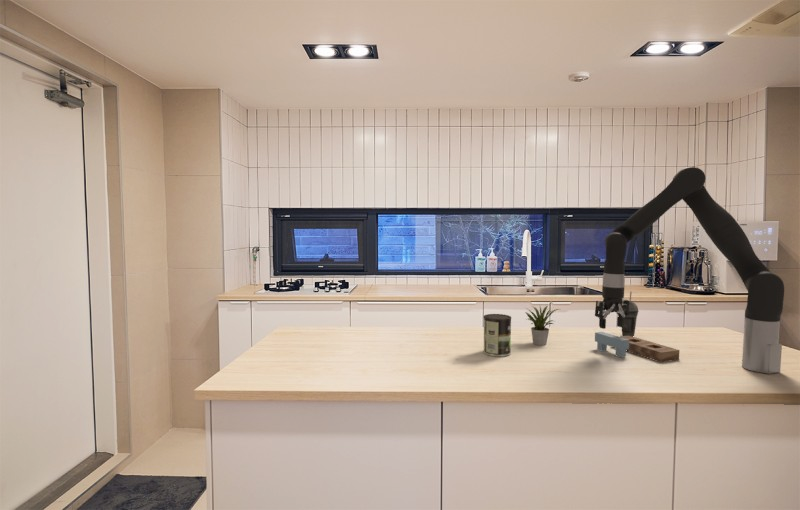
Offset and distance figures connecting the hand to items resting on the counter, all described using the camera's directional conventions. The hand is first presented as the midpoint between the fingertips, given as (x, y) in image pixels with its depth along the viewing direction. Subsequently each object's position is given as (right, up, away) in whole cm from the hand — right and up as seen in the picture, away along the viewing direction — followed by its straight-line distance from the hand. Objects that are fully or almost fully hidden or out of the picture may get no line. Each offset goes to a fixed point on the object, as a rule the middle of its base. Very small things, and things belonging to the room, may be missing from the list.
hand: (611, 327), depth 167 cm
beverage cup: (+19, -8, +24) cm, 32 cm away
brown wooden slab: (+13, -10, +1) cm, 16 cm away
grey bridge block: (0, -10, +1) cm, 10 cm away
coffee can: (-43, -10, +1) cm, 45 cm away
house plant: (-22, -9, +14) cm, 27 cm away
